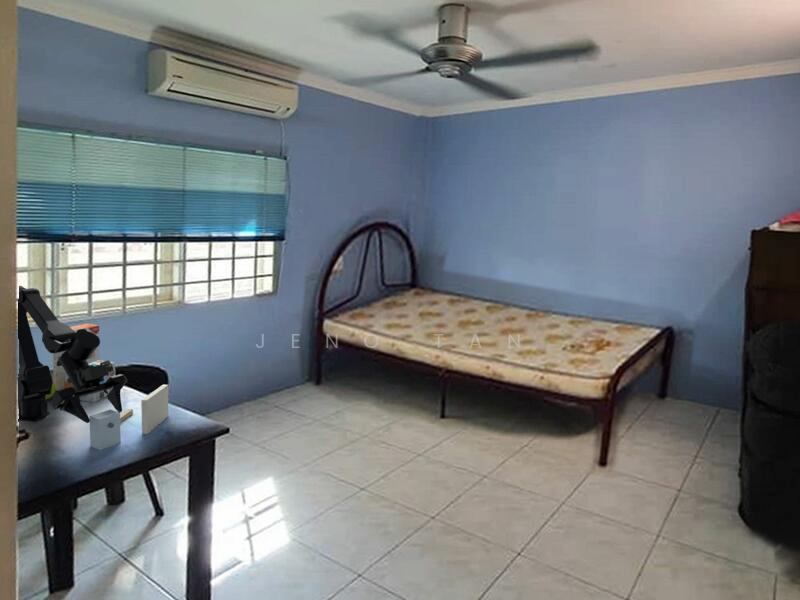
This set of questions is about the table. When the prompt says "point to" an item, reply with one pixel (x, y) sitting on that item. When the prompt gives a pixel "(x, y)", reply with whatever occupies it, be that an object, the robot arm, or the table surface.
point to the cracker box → (59, 372)
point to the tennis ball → (51, 392)
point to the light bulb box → (100, 394)
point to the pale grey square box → (105, 429)
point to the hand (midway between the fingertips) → (105, 417)
